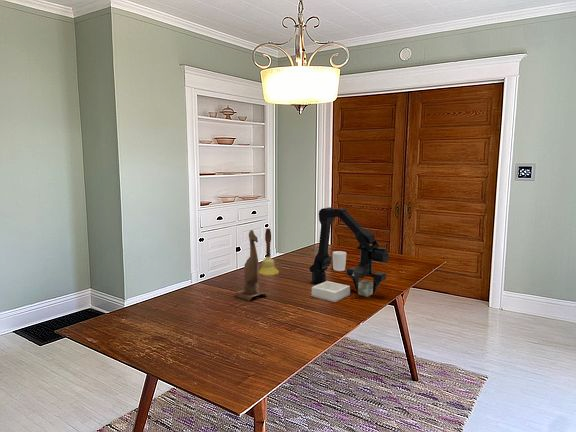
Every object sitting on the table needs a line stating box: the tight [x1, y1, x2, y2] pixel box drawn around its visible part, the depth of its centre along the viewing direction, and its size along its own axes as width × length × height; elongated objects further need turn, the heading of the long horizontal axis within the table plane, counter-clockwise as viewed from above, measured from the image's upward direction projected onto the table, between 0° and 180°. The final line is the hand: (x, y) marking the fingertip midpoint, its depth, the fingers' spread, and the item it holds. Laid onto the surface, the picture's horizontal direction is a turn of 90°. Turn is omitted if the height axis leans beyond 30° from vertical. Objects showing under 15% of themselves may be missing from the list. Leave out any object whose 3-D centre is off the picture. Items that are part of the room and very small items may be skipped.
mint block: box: [357, 279, 374, 298], centre depth 207 cm, size 5×5×6 cm
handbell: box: [259, 228, 280, 276], centre depth 242 cm, size 12×12×25 cm
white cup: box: [332, 250, 347, 272], centre depth 249 cm, size 8×8×10 cm
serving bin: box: [311, 280, 351, 303], centre depth 204 cm, size 13×13×4 cm
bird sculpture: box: [234, 229, 269, 303], centre depth 201 cm, size 11×12×32 cm
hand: (365, 291), depth 207 cm, fingers open, 9 cm apart
